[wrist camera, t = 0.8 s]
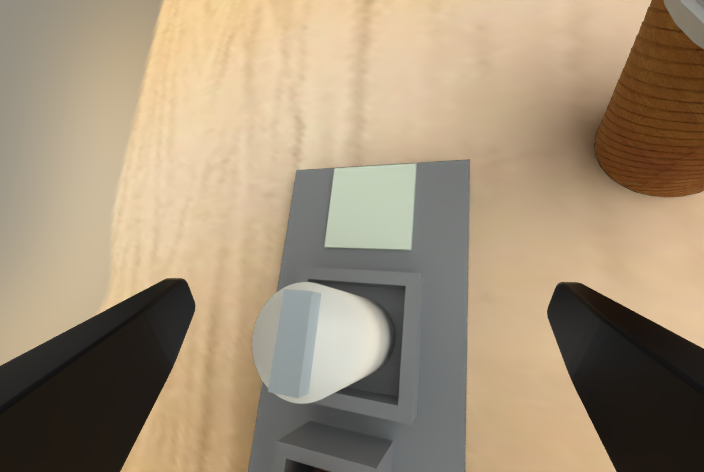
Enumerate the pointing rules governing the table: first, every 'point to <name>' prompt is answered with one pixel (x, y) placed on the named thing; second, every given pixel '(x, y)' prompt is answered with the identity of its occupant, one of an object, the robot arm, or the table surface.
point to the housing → (401, 304)
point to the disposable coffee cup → (659, 106)
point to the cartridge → (319, 341)
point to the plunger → (319, 470)
